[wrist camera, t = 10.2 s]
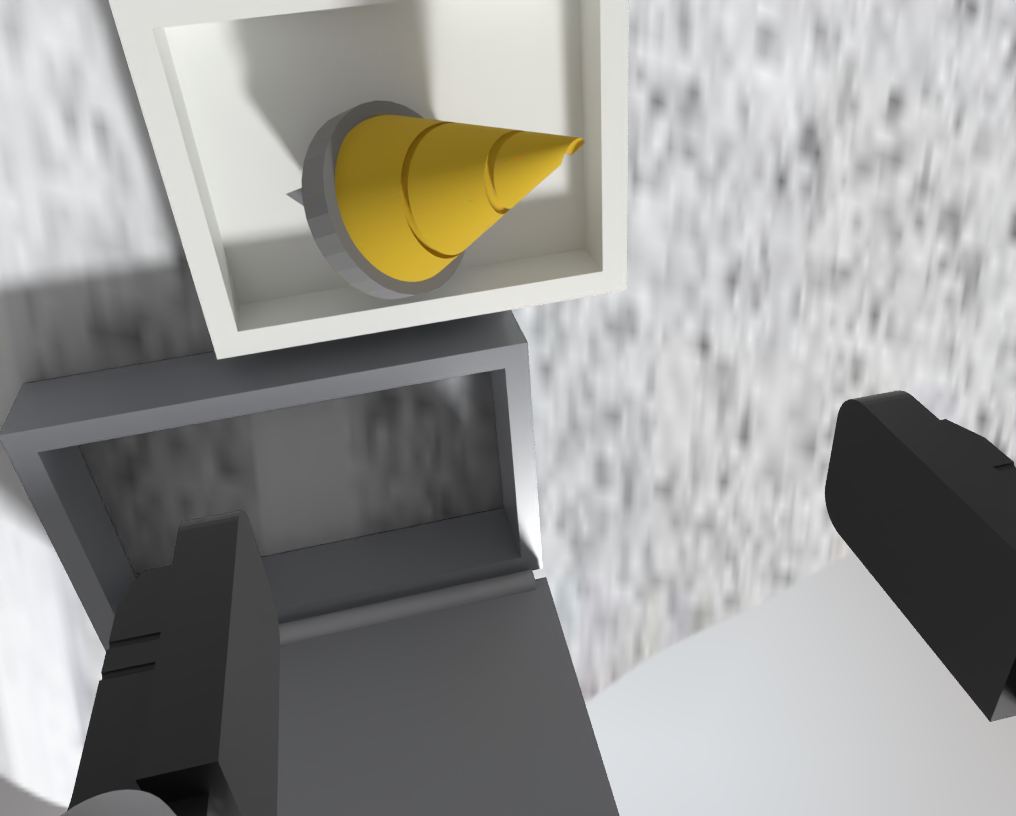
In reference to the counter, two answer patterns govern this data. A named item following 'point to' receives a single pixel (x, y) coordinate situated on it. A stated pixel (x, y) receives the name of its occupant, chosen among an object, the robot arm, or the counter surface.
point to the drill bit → (414, 192)
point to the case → (268, 386)
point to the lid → (437, 709)
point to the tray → (360, 79)
